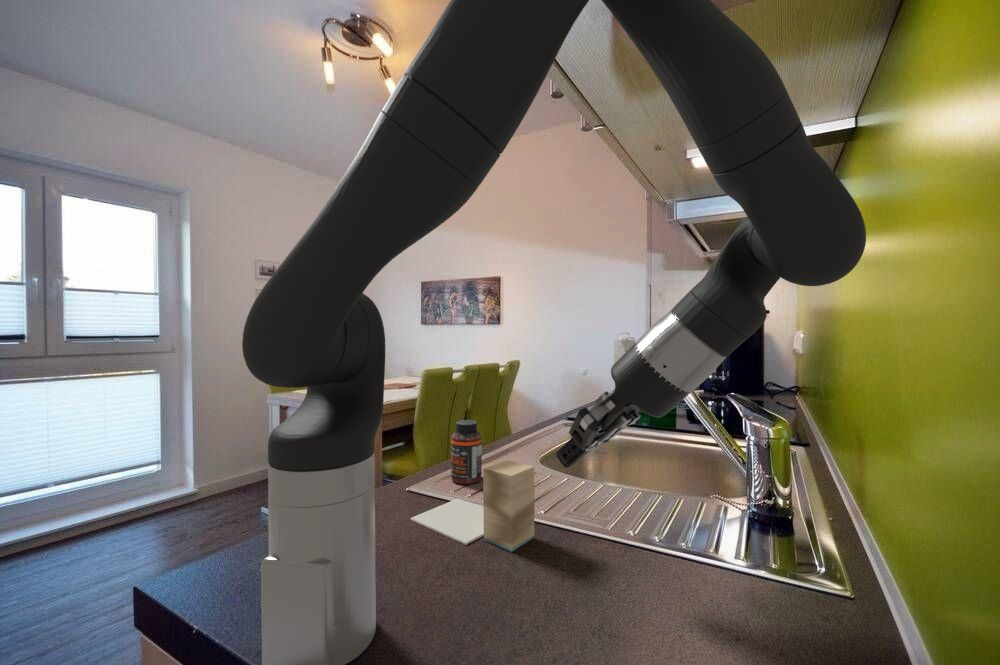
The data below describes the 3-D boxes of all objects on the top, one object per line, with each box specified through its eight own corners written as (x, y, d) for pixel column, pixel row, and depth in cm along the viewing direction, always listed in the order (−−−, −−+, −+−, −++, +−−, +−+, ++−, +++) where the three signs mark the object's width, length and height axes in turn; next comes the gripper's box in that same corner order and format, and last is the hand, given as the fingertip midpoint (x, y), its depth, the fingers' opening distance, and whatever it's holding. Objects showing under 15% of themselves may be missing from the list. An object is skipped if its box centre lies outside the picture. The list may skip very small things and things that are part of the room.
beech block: (534, 538, 60) (534, 466, 60) (512, 552, 56) (511, 476, 56) (506, 527, 63) (506, 459, 63) (483, 540, 59) (483, 468, 59)
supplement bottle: (444, 482, 82) (444, 423, 82) (461, 473, 87) (461, 417, 87) (471, 487, 79) (471, 426, 79) (487, 477, 85) (487, 420, 85)
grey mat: (512, 519, 66) (512, 517, 66) (466, 545, 58) (465, 542, 58) (457, 500, 73) (457, 498, 73) (410, 520, 66) (410, 518, 66)
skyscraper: (618, 410, 154) (617, 332, 154) (639, 412, 149) (638, 332, 149) (610, 414, 147) (609, 332, 147) (631, 416, 143) (631, 332, 143)
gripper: (672, 394, 38) (552, 501, 45) (709, 387, 49) (606, 475, 56) (616, 335, 42) (513, 443, 49) (661, 340, 52) (571, 429, 59)
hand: (563, 460), depth 52 cm, fingers closed
